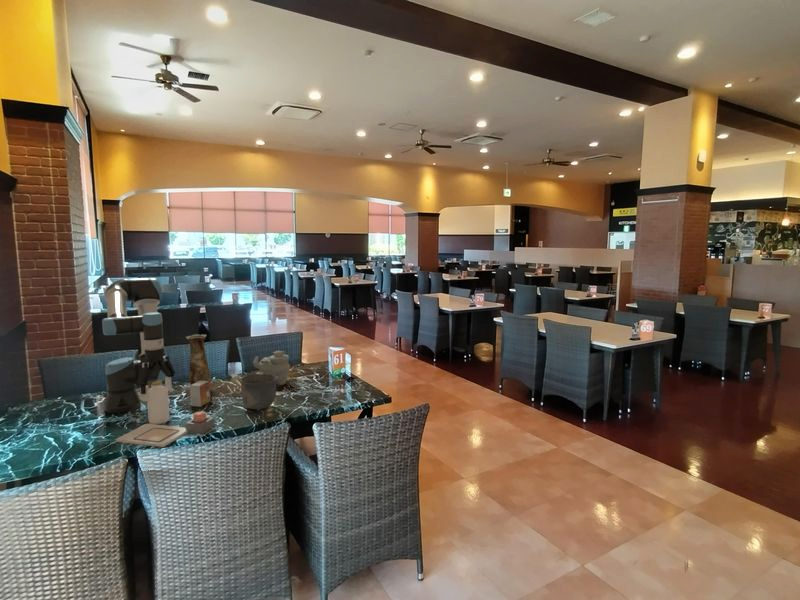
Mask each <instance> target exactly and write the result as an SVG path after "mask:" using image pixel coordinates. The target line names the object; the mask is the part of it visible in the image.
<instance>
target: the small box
mask: <svg viewBox="0 0 800 600" xmlns="http://www.w3.org/2000/svg"><path fill="white" fill-rule="evenodd" d="M210 384H211V383H210ZM210 384H209V381H198V382H196V383H194V384H192V385H190V384H189V397H190V406H191V407H203V406H204V405H207V404H208V403H210V402H211V387H210V386H211V385H210Z"/></svg>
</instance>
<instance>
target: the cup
mask: <svg viewBox="0 0 800 600" xmlns="http://www.w3.org/2000/svg"><path fill="white" fill-rule="evenodd" d="M277 380H278V377H277V376H276V375H275V374H271V373H263V372H262V373H250V374H247V375H244V376H243V377H241V378H240V379H239V382H240V387H241V390H240V392H241V400H242V404H243V405H244V406H245V408H247V409H251V410H263V409H266V408H268V407H270V406H271V405H273V403H274V402H275V400H276V396H277V395H276V394H277V392H276V391H277V389H276V388H277V385H276V383H277Z"/></svg>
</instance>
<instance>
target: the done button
mask: <svg viewBox="0 0 800 600" xmlns="http://www.w3.org/2000/svg"><path fill="white" fill-rule="evenodd" d="M192 416H193V418H192V419H193V422H194V423H203V422H205V421H206V417H207V412H206V411H205V410H204V411H202V410H201V411H196V412H194V413H193V414H192Z"/></svg>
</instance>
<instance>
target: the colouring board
mask: <svg viewBox="0 0 800 600" xmlns="http://www.w3.org/2000/svg"><path fill="white" fill-rule="evenodd" d="M186 434H188V430H186V427H183V426H173V425H163V424H158V425H156V424H150V423H146V424H143V425H141V426H139V427H137V428H135V429H133V430H131V431H129V432H127V433H125V434H123V435H121V436H119V437H117V438H115V442H118V443H124V444H135V445H141V446H142V445H143V446H149V447H160V448H164V447H167V446H168V445H169V444H171V443H173V442H175V441H177V440H178V439H180V438H181V437H183V436H184V435H186Z"/></svg>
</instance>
